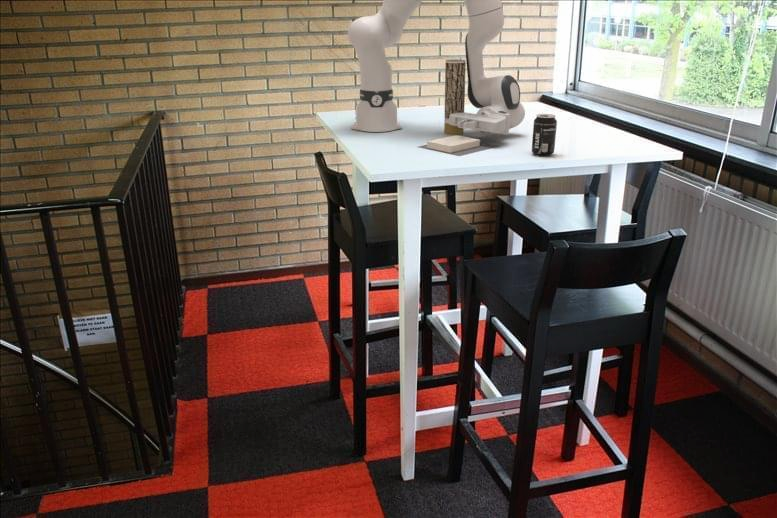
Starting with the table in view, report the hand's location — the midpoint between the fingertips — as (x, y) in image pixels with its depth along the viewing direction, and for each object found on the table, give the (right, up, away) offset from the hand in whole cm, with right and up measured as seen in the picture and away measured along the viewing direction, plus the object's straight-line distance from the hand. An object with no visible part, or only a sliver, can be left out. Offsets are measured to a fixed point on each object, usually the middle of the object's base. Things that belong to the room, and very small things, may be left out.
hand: (461, 125), depth 211 cm
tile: (+3, -4, +4) cm, 6 cm away
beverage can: (+24, -11, -7) cm, 27 cm away
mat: (-1, -7, +2) cm, 7 cm away
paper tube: (0, +1, +22) cm, 22 cm away
